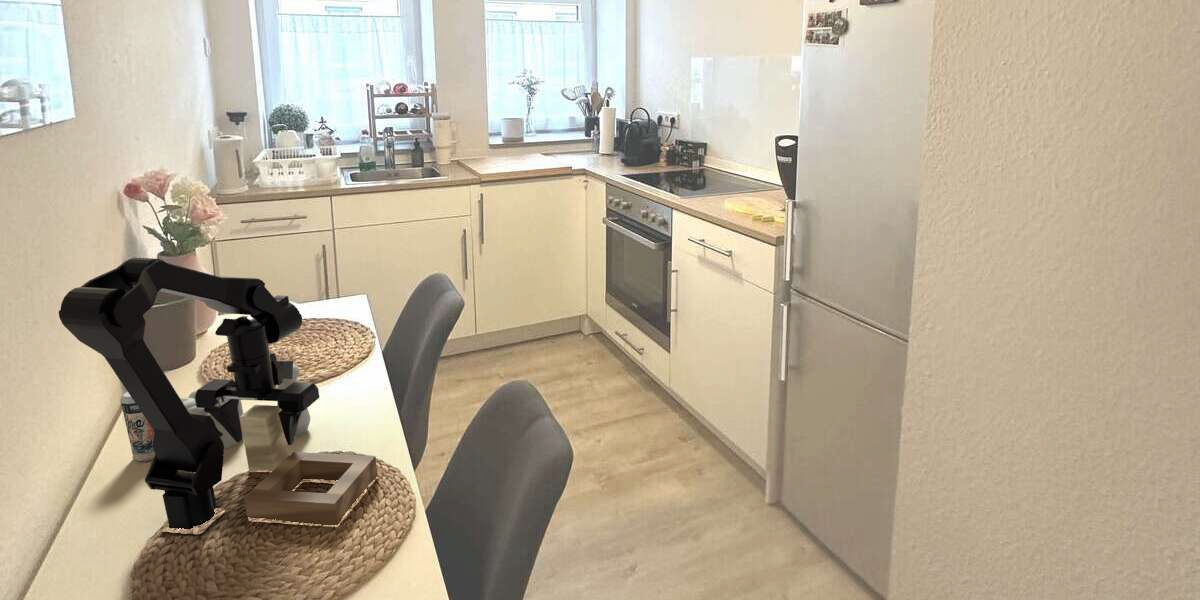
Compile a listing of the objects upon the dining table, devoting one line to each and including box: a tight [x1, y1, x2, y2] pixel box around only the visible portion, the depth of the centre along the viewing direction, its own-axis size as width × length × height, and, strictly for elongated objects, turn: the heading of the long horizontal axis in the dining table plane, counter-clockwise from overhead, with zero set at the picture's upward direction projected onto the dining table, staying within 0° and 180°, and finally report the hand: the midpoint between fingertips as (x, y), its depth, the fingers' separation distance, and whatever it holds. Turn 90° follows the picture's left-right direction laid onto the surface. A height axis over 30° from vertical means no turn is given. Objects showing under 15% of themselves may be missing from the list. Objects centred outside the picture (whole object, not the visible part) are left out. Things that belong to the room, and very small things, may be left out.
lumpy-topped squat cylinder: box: [180, 389, 244, 451], centre depth 141 cm, size 10×13×9 cm
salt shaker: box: [276, 362, 311, 438], centre depth 143 cm, size 6×6×13 cm
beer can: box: [119, 390, 156, 462], centre depth 136 cm, size 5×5×12 cm
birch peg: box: [240, 404, 289, 471], centre depth 132 cm, size 4×4×10 cm
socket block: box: [243, 451, 379, 525], centre depth 122 cm, size 14×14×4 cm
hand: (265, 442), depth 132 cm, fingers open, 9 cm apart
